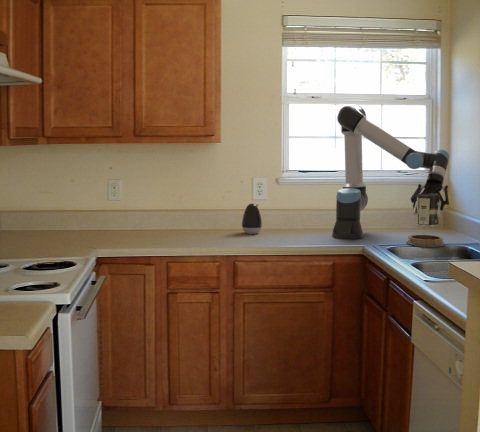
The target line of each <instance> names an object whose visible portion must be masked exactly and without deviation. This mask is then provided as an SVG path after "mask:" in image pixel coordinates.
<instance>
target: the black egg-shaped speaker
mask: <svg viewBox="0 0 480 432" xmlns="http://www.w3.org/2000/svg"><path fill="white" fill-rule="evenodd" d="M258 206H259V204H258V203H257V204H256V203H249V204H248V205H247V206H246V208H245V210H244V211H243V216H242V222H241V227H242V230H243V232H244V233H245V234H247V235H256V234H258V233H260V232H261V230H262V227H263V223H262V222H263V221H262V215H261V213H260V209H259V207H258Z"/></svg>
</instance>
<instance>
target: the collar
mask: <svg viewBox="0 0 480 432" xmlns="http://www.w3.org/2000/svg"><path fill="white" fill-rule="evenodd" d="M408 244H409V245H408ZM444 244H445V242H444V237H442V236H438V235H435V234H434V235H433V234H412V235H411V234H410V235H409V236H408V240H407V241H406V245H408V246H410V245H414V246H413V247H415V246H417V248H429V249H436V248H444V247H445V245H444Z"/></svg>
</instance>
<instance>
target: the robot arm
mask: <svg viewBox="0 0 480 432" xmlns="http://www.w3.org/2000/svg"><path fill="white" fill-rule="evenodd" d="M336 120H337V122H338V124H339V125H340V132H341V134H342V135H343V136H344V168H345V169H344V170H345V171H344V174H345V183H344V184H343V185H342V188H340V189H338V190H337V192H336V197H335V199H336V209H335V211H336V212H335V215H336V216H335V223H334V224H333V228H332V230H331V231H332V232H331V236H332V237H333V238H336V239H342V240H343V239H344V240H356V239H362V238H364V232H363V231H364V230H363V228H362V223H361V212H362V211H363V210H364V209H366V207H367V205H368V201H369V197H368V194H367V185H366V184H365V183H364V181H363V178H364V177H363V174H364V173H363V142H362V141H363V139H362V138H363V137H364V138H365V139H366V140H368V141H369V142H371V143H373V144H374V145H375V146H378V147H379V148H380V149H382V150H384V151H385V152H386V153H388V154H389V155H391V156H393V157H394V158H396V159H398V160H399V161H401V162H402V163H404V164H405V165H406V166H407V167H408V168H409V169H411V170H418V169H420V168H422V169H429V170H428V174H427V178H426V182H425V183H424V185H421V183H419V184H418V185H417V189H415V191H414V192H413V194H412V196H411V197H410V202H411V204H412V208H413V211H412V213H413V216H417V194H437V195H440V202H439V206H438V210H437V217H439V218H440V216H441V212H442V211H444V208H445V205H447V206H448V205H450V201H449V193H448V192H449V186H448V185H447V184H446V185H443V184H444V180H445V176H446V172H447V168H448V165H449V159H450V154H449V152H448V151H446V150H444V149H436V150H435V151H434V152H433V153H429V152H423V151H418V150H414V149H413V148H411V147H410V146H408V145H407V144H405V143H404V142H402V141H400V139H398V138H396V137H395V136H393V135H392V134H390V133H388V132H387V131H385V130H384V129H382V128H380V127H379V126H377V125H376V124H375V123H372V121H370V120H368V118H367V114H366V111H365V110H364V108H363V107H361V106H360V105H358V104H349V103H348V104H347V103H346V104H344V105H341V107H339V109H338V110H337V113H336ZM442 190H443V192H444V198H445V200H444V198H443V195H442V194H441V191H442Z"/></svg>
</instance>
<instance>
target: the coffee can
mask: <svg viewBox="0 0 480 432" xmlns="http://www.w3.org/2000/svg"><path fill="white" fill-rule="evenodd" d="M439 202H440V195H437V194H421V193H420V194H417V213H416V215H415V217H416V222H415V225H416V226H417V227H426V228H429V227H430V228H431V227H433V228H435V227H439V224H440V221H439V220H440V216H439V217H437V210H438V206H439Z"/></svg>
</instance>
